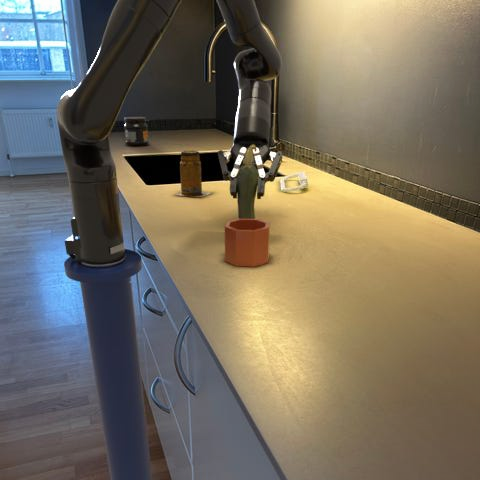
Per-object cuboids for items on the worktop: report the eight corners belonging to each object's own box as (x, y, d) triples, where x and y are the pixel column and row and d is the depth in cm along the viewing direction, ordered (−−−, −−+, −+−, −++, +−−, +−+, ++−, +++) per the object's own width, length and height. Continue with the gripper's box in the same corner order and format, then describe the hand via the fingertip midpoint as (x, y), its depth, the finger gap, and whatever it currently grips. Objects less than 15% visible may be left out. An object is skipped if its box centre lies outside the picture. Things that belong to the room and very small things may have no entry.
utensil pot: (223, 265, 98) (222, 230, 95) (229, 251, 106) (228, 217, 102) (267, 267, 97) (268, 231, 94) (269, 252, 105) (270, 219, 102)
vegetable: (235, 243, 109) (233, 145, 100) (240, 237, 113) (239, 142, 104) (255, 245, 108) (255, 146, 99) (260, 238, 112) (260, 142, 103)
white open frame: (281, 184, 169) (279, 173, 168) (305, 178, 168) (303, 166, 166) (282, 198, 152) (280, 186, 150) (309, 192, 150) (307, 179, 149)
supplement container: (152, 144, 241) (150, 116, 236) (142, 147, 232) (140, 119, 227) (132, 143, 244) (130, 116, 239) (121, 146, 235) (119, 118, 230)
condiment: (187, 190, 155) (185, 149, 150) (212, 193, 152) (211, 151, 146) (175, 195, 149) (172, 152, 144) (200, 198, 146) (199, 154, 140)
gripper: (217, 114, 106) (209, 185, 101) (286, 114, 105) (281, 187, 100) (221, 137, 113) (214, 205, 108) (285, 138, 112) (281, 207, 107)
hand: (246, 196), depth 104 cm, fingers closed on vegetable, 4 cm apart
